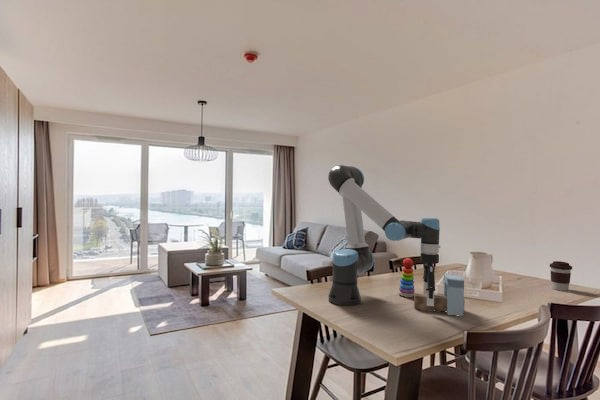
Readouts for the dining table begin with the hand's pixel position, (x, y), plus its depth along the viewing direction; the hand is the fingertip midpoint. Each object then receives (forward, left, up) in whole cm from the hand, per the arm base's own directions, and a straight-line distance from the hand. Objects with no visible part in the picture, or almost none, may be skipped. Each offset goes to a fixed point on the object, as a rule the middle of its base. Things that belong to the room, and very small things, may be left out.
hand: (428, 301), depth 151 cm
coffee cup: (+75, +57, -4) cm, 94 cm away
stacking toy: (-8, +19, -4) cm, 21 cm away
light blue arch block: (+10, 0, -4) cm, 11 cm away
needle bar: (+4, 0, -4) cm, 6 cm away
